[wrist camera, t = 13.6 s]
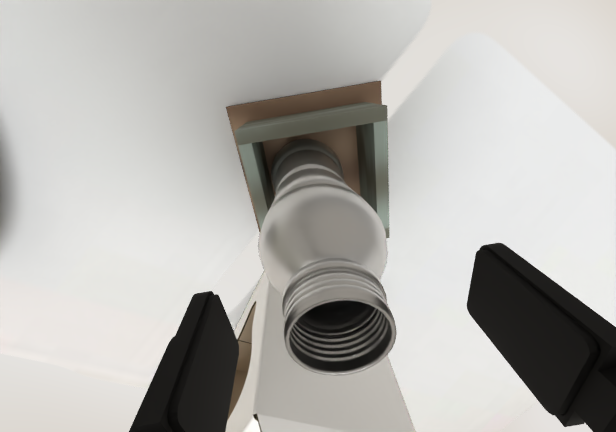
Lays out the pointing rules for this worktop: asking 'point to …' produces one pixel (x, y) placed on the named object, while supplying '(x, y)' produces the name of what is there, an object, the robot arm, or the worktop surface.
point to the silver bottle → (326, 263)
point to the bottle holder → (322, 127)
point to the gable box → (304, 383)
